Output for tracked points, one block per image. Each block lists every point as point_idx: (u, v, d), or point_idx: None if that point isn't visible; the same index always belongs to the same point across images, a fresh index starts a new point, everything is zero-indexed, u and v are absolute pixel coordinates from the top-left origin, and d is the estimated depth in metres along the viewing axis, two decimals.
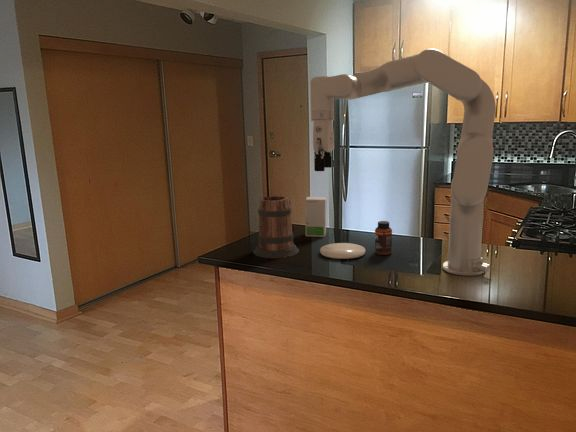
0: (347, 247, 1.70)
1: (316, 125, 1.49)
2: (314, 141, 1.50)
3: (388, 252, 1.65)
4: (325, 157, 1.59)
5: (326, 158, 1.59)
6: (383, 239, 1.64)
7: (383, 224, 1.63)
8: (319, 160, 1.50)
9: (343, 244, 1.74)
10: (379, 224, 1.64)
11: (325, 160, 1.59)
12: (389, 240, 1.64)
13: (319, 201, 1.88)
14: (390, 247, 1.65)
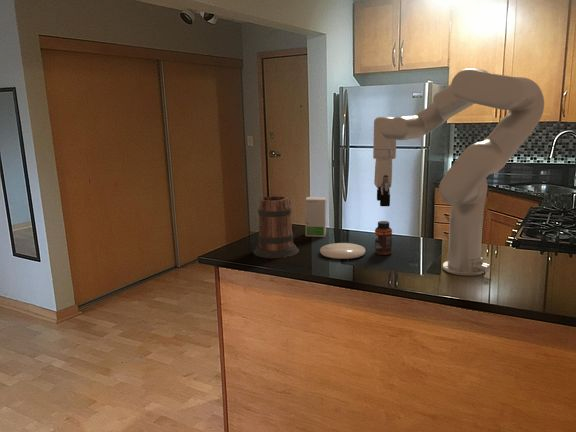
0: (347, 247, 1.70)
1: None
2: None
3: (388, 252, 1.65)
4: None
5: None
6: (383, 239, 1.64)
7: (383, 224, 1.63)
8: None
9: (343, 244, 1.74)
10: (379, 224, 1.64)
11: None
12: (389, 240, 1.64)
13: (319, 201, 1.88)
14: (390, 247, 1.65)
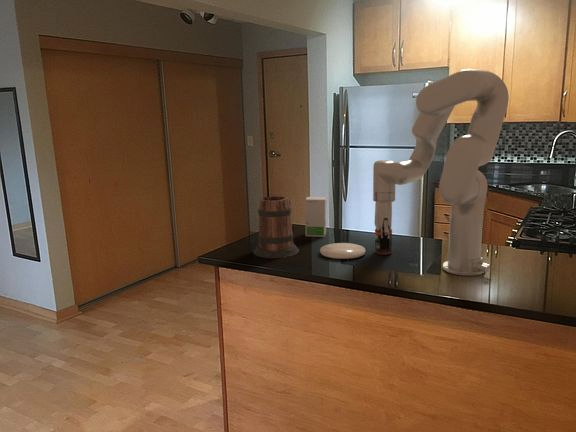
0: (347, 247, 1.70)
1: None
2: None
3: (388, 252, 1.65)
4: None
5: None
6: None
7: None
8: None
9: (343, 244, 1.74)
10: None
11: None
12: None
13: (319, 201, 1.88)
14: (390, 247, 1.65)
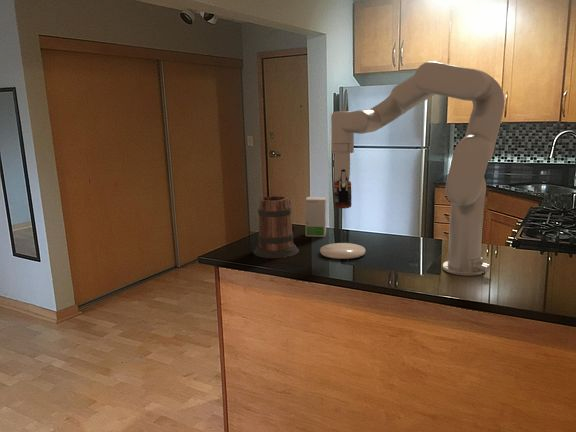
0: (347, 247, 1.70)
1: None
2: None
3: (347, 205, 1.62)
4: None
5: None
6: None
7: None
8: None
9: (343, 244, 1.74)
10: None
11: None
12: (348, 193, 1.61)
13: (319, 201, 1.88)
14: (349, 200, 1.62)
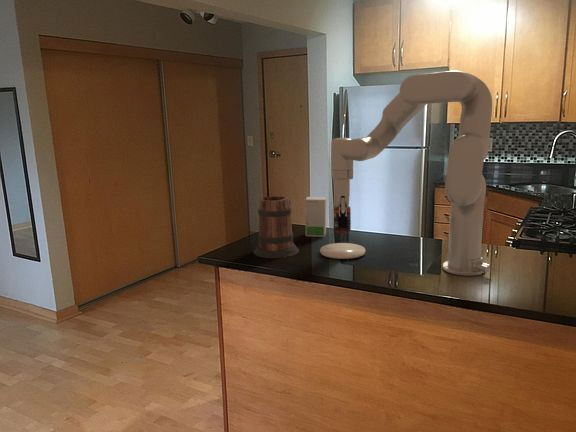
0: (347, 247, 1.70)
1: None
2: None
3: (346, 230, 1.64)
4: None
5: None
6: None
7: None
8: None
9: (343, 244, 1.74)
10: None
11: None
12: (347, 218, 1.63)
13: (319, 201, 1.88)
14: (348, 225, 1.64)
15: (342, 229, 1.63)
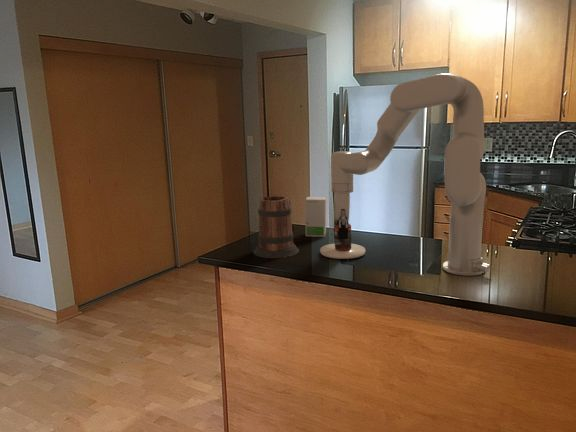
0: None
1: None
2: None
3: (347, 248, 1.65)
4: None
5: None
6: None
7: None
8: None
9: None
10: (338, 220, 1.65)
11: None
12: (348, 236, 1.64)
13: (319, 201, 1.88)
14: (349, 243, 1.65)
15: (343, 247, 1.65)
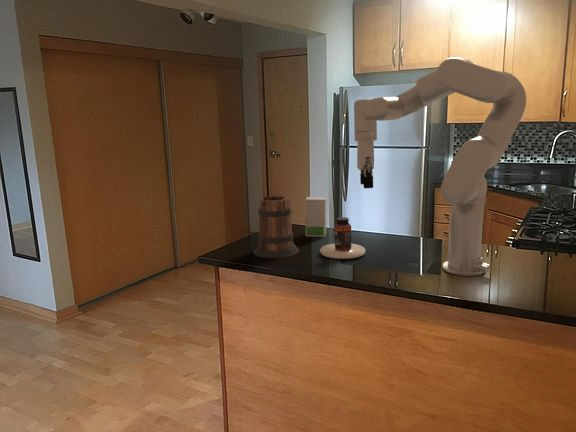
0: None
1: None
2: None
3: (347, 248, 1.65)
4: None
5: None
6: (342, 235, 1.64)
7: (342, 220, 1.64)
8: None
9: None
10: (338, 220, 1.65)
11: None
12: (348, 236, 1.64)
13: (319, 201, 1.88)
14: (349, 243, 1.65)
15: (343, 247, 1.65)
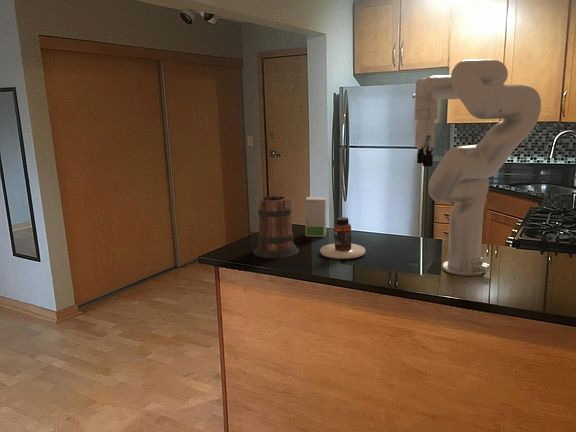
0: None
1: None
2: None
3: (347, 248, 1.65)
4: None
5: None
6: (342, 235, 1.64)
7: (342, 220, 1.64)
8: None
9: None
10: (338, 220, 1.65)
11: None
12: (348, 236, 1.64)
13: (319, 201, 1.88)
14: (349, 243, 1.65)
15: (343, 247, 1.65)
